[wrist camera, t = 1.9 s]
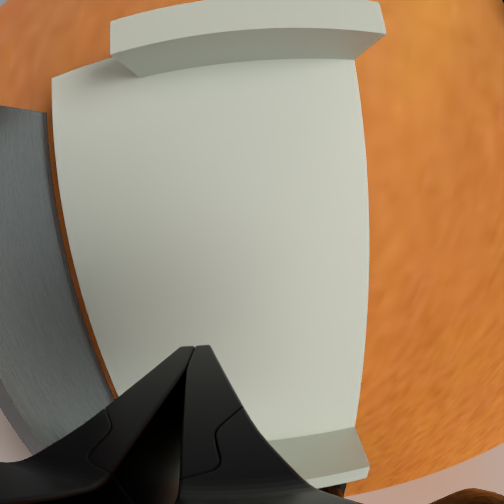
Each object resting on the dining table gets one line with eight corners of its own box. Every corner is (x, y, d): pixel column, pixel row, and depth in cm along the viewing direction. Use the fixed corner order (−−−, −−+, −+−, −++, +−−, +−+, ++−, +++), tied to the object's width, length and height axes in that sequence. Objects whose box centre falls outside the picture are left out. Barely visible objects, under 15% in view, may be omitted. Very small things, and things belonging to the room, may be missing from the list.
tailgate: (134, 439, 15) (109, 524, 9) (118, 438, 15) (91, 519, 9) (46, 113, 10) (-60, 99, 4) (29, 120, 10) (-76, 112, 4)
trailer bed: (340, 406, 18) (366, 477, 12) (156, 422, 18) (137, 493, 12) (329, 55, 12) (378, 2, 7) (82, 90, 12) (9, 63, 7)
